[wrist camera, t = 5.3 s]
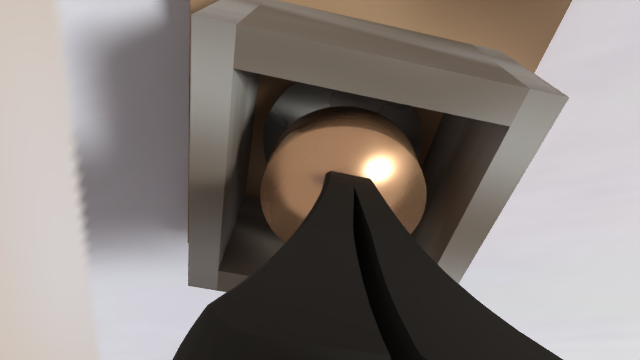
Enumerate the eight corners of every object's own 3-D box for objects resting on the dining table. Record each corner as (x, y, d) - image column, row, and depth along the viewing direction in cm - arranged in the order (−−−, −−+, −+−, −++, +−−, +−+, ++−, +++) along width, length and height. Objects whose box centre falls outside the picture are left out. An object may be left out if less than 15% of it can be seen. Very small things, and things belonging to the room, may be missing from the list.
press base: (418, 262, 20) (446, 368, 15) (197, 222, 19) (148, 322, 14) (558, -25, 13) (704, -2, 8) (206, -112, 12) (109, -150, 7)
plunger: (392, 217, 16) (405, 285, 13) (256, 192, 16) (236, 256, 13) (443, 87, 13) (478, 134, 10) (275, 50, 13) (254, 88, 9)
